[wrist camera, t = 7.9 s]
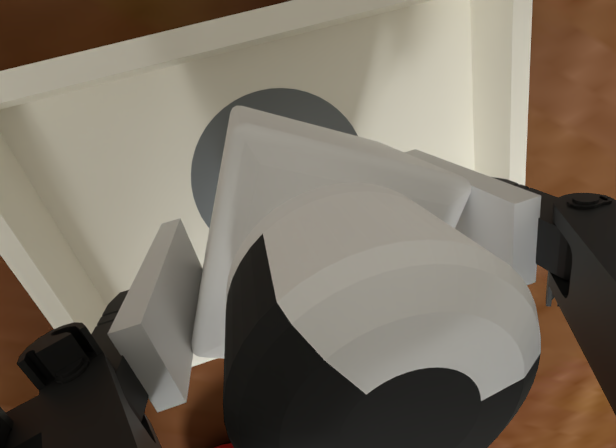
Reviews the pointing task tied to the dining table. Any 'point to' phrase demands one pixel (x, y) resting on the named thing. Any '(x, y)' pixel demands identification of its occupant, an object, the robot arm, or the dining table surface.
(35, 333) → the dining table surface
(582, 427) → the dining table surface
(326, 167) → the medicine bottle
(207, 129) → the tray
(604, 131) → the dining table surface
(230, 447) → the fruit
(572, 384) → the dining table surface
